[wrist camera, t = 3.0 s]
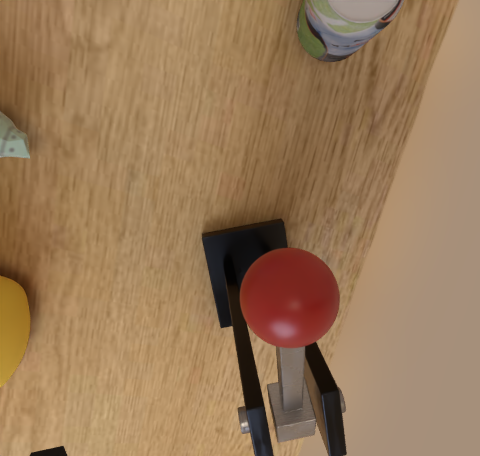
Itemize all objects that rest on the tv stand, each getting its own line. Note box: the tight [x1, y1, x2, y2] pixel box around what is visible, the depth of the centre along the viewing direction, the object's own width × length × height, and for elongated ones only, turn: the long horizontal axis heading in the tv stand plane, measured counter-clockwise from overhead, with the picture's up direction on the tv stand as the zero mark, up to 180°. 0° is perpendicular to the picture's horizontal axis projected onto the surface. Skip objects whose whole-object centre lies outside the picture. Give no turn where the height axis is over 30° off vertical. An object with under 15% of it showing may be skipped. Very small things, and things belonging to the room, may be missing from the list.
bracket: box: [202, 219, 347, 456], centre depth 33 cm, size 10×8×22 cm
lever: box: [240, 248, 340, 443], centre depth 20 cm, size 15×4×4 cm, turn 9°
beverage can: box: [297, 0, 404, 62], centre depth 31 cm, size 6×7×12 cm
